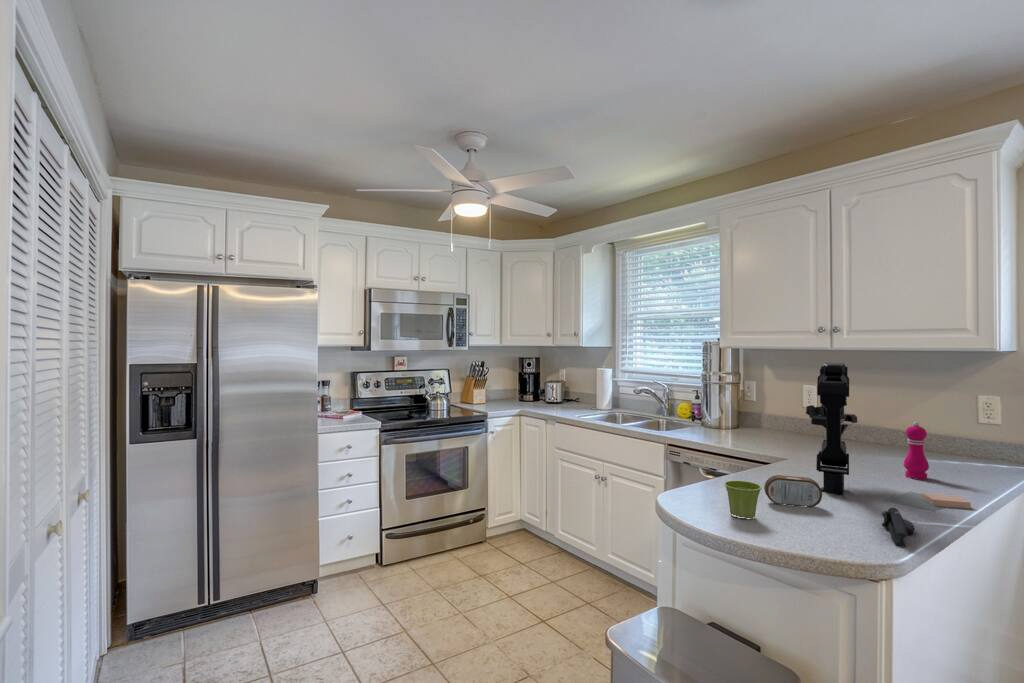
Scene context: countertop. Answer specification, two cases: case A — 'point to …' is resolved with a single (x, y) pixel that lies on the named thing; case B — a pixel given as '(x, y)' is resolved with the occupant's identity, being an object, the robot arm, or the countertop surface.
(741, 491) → the plant pot
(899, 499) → the mat
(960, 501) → the tile
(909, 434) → the pepper mill
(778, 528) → the countertop surface
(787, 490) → the tin
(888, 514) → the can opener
